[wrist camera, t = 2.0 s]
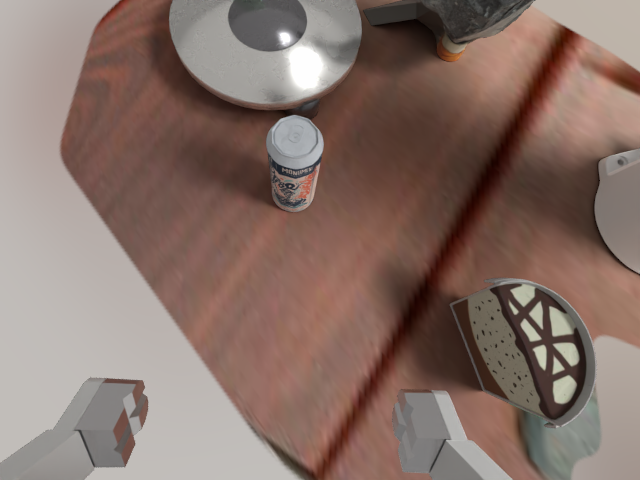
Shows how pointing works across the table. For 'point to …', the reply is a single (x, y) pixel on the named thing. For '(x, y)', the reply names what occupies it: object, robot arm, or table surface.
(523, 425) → the table surface
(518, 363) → the food container
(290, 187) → the beer can
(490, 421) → the table surface
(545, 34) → the table surface
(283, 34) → the round grey plate
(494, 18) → the dark grey angular piece
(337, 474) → the table surface
